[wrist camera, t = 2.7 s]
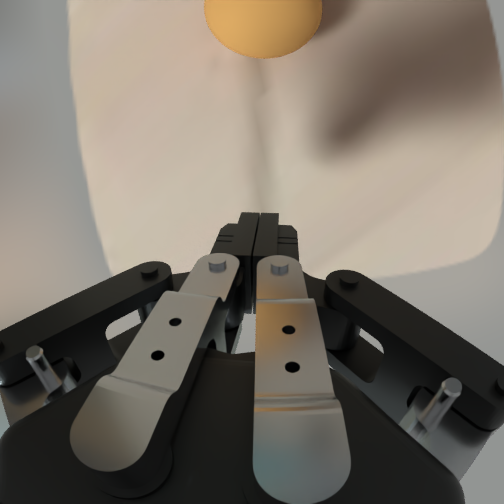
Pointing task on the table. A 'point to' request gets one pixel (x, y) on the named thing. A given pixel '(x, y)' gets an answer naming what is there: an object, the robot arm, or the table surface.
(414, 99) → the table surface
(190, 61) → the table surface
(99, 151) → the table surface
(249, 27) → the ball
